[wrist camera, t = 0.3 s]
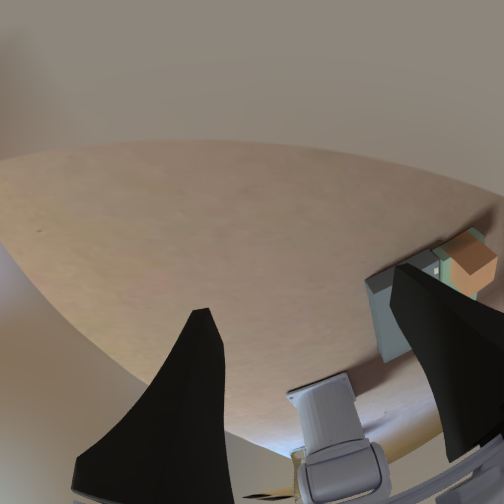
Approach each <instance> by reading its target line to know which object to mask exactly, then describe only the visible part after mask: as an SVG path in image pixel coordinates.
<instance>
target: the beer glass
mask: <svg viewBox="0 0 504 504" xmlns="http://www.w3.org/2000/svg"><path fill="white" fill-rule="evenodd" d="M290 456H291V459H292V461H293V466H294V484H293V491H294V498H295V502H296V504H304V502H303V500H302V497H301V494H300V489H299V484H298V476H297V470H298V468H299V467H300V465H301V463H305V462H306V459H305V456H307V453H306V448H305V447H301V448H297V449H295V450H292V451H291V452H290ZM324 504H331V503H330V502H328V503H324Z"/></svg>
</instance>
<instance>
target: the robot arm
mask: <svg viewBox="0 0 504 504" xmlns="http://www.w3.org/2000/svg"><path fill="white" fill-rule="evenodd" d="M389 306H390V308H391V311H392V313H393V315H394V318H395V320H396V322H397V324H398V326H399V328H400V330H401V331H402V333H403V335H404V336H405V338H406V340H407V342H408V343H409V345H410V347H411V348H412V350H413V352H414V354H415V355H416V357H417V359H418V361H419V362H420V364H421V366H422V368H423V370H424V372H425V374H426V376H427V379H428V381H429V384H430V387H431V389H432V392H433V395H434V398H435V401H436V404H437V408H438V411H439V415H440V419H441V423H442V428H443V433H444V439H445V446H446V455H447V458H448V460H449V463H451V462H453V461H454V460H456V459H458V458H459V457H461V456H462V455H464V454H466V453H467V452H468V451H470V450H472V449H473V448H475V447H476V446H478V445H480V447H481V448H480V449H479V450H477V451H476V452H475V453H473V454H472V455H470V456H469V457H467V458H466V459H464V460H462V461H461V462H459V463H458V464H456V465H455V466H453V467H451V468H449V469H448V470H446V471H444V472H442V473H440V474H439V475H437V476H435V477H433V478H431V479H429V480H427V481H426V482H423V483H421V484H419V485H417V486H415V487H413V488H411V489H408V490H407V491H404V492H402V493H399V494H397V495H395V496H392V497H390V498H388V497H389V496H390V494H391V490H392V485H391V481H390V472H389V466H388V462H387V458H386V455H385V453H384V451H383V448H382V447H381V445H379V444H377V443H376V442H372V443H370V442H369V439H368V438H365V435H364V432H363V429H362V426H361V423H360V420H359V417H358V414H357V411H356V408H355V405H354V402H355V401H356V397H355V395H354V392H353V389H352V386H351V384H350V381H349V378H348V376H347V373H341V374H339V375H336V376H334V377H331V378H328V379H326V380H323V381H321V382H318V383H315V384H312V385H310V386H307V387H304V388H301V389H298V390H295V391H292V392H289V393H287V394H286V397H287V398H288V400H289V401H290V402H291V403H292V404H293V405H294V406H295V407H296V408H297V410H298V413H299V417H300V422H301V427H302V432H303V438H304V443H305V448H306V453H307V456H305V459H306V462H305V463H301V465H300V467H299V468H298V470H297V476H298V484H299V489H300V494H301V497H302V500H303V502H304V504H324V503H328V502H332V501H336V500H340V499H343V498H347V497H350V496H353V495H356V494H360V493H363V492H366V491H369V490H372V489H374V490H373V491H372V492H371V493H369V494H367V495H364V496H362V497H358V498H355V499H352V500H348V501H345V502H342V503H338V504H416V503H418V502H420V501H422V500H424V499H426V498H428V497H430V496H432V495H434V494H436V493H437V492H439V491H441V490H443V489H445V488H446V487H448V486H450V485H451V484H453V483H455V482H456V481H458V480H459V479H461V478H463V477H464V476H466V475H467V474H469V473H471V472H472V471H473V470H474V471H473V474H472V476H471V477H470V478H468V479H466V480H464V481H462V482H460V483H458V484H457V485H455V486H453V487H451V488H450V489H448V490H447V491H445V492H444V493H442V494H441V495H439V496H437V497H436V499H435V501H436V504H504V313H502V312H500V311H497V310H495V309H493V308H490V307H488V306H486V305H484V304H481V303H479V302H477V301H475V300H473V299H471V298H470V297H468V296H466V295H464V294H462V293H460V292H458V291H457V290H455V289H453V288H451V287H450V286H448V285H446V284H444V283H443V282H441V281H439V280H438V279H436V278H434V277H432V276H431V275H429V274H427V273H426V272H424V271H422V270H420V269H419V268H417V267H415V266H413V265H411V264H409V263H405V264H402V265H398V266H395V269H394V277H393V284H392V291H391V297H390V303H389ZM224 393H225V356H224V345H223V341H222V339H221V337H220V334H219V332H218V329H217V327H216V325H215V322H214V320H213V317H212V315H211V312H210V310H209V308H204V309H198V310H193V311H192V313H191V314H190V316H189V318H188V320H187V322H186V324H185V326H184V328H183V330H182V332H181V334H180V335H179V337H178V339H177V341H176V343H175V345H174V346H173V348H172V350H171V352H170V354H169V355H168V357H167V359H166V360H165V362H164V364H163V365H162V367H161V368H160V370H159V372H158V373H157V375H156V376H155V378H154V379H153V381H152V382H151V384H150V385H149V387H148V388H147V389H146V391H145V392H144V394H143V395H142V396H141V397H140V399H139V400H138V401H137V402H136V403H135V405H134V406H133V407H132V408H131V409H130V410H129V412H128V413H127V414H126V415H125V416H124V417H123V418H122V420H121V421H120V422H119V423H118V424H116V426H114V427H113V428H112V429H111V430H110V431H109V432H108V433H107V434H106V435H105V436H104V437H103V438H102V439H100V440H99V441H98V442H97V443H96V444H94V445H93V446H92V447H90V448H89V449H88V450H87V451H85V452H84V453H83V454H81V455H80V456H78V457H77V459H76V463H75V469H74V474H73V480H72V486H71V490H72V491H73V492H74V493H76V494H78V495H80V496H83V497H86V498H88V499H91V500H94V501H97V502H100V503H102V504H234V498H233V493H232V488H231V482H230V477H229V469H228V462H227V454H226V445H225V434H224ZM73 504H84V503H81V502H79V501H76V500H74V501H73Z"/></svg>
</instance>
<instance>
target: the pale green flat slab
mask: <svg viewBox="0 0 504 504" xmlns="http://www.w3.org/2000/svg"><path fill="white" fill-rule="evenodd" d="M432 253H433V254H434V255H435V256H436V257H437V258H438V259H439V281H441V282H443V283H444V284H446V285H448V286H450V287H451V288H453V289H455V290H457V291H458V292H460V293H462V294H464V295H466V296H468V297H470V298H471V299H473V300H475V301H476V298H477V292H478V291H479V290H481V289H482V288H484V287H485V286H486V285H488V284H489V283H490V282H492V281H493V280H494V275H495V270H496V264H497V257H498V256H497V255H496V254H495V253H493V252H492V251H491V250H490V249H489V248H488V247H486V246H485V245H484V235H483V234H481V233H480V232H479V231H477V230H476V229H475V228H473V227H471V228H469V229H468V230H466V231H465V232H463V233H461V234H459V235H458V236H456V237H454V238H453V239H451V240H449V241H447V242H446V243H444V244H442V245H440V246H439V247H437V248H435V249H433V250H432Z"/></svg>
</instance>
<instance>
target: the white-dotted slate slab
mask: <svg viewBox="0 0 504 504" xmlns="http://www.w3.org/2000/svg"><path fill="white" fill-rule="evenodd" d="M405 263H409V264H411V265H413V266H415V267H417V268H419V269H420V270H422V271H424V272H426V273H427V274H429V275H431V276H432V277H434V278H436V279H438V280H439V259H438V258H437V257H436V256H435V255H434V254H433V253H432V252H431V251H430V250H429V249H428V248H427V249H425V250H424V251H422V252H420V253H418V254H416V255H414V256H412V257H410V258H409V259H407V260H405V261H403V262H401V263H399V264H397V265H395V266H398V265H402V264H405ZM395 266H393V267H391V268H389V269H387V270H385V271H383V272H381V273H379V274H377V275H375V276H373V277H370V278H368V279H366V280H365V284H366V289H367V293H368V298H369V302H370V307H371V312H372V317H373V322H374V328H375V333H376V339H377V345H378V351H379V353H380V355H381V357H382V359H383V361H384V363H386V362H389V361H391V360H393V359H395V358H397V357H398V356H400V355H402V354H404V353H406V352H408V351H410V350H412V348H411V347H410V345H409V343H408V342H407V340H406V338H405V336H404V335H403V333H402V331H401V330H400V328H399V326H398V324H397V322H396V320H395V318H394V315H393V313H392V311H391V308H390V306H389V303H390V297H391V291H392V284H393V277H394V269H395Z"/></svg>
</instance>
